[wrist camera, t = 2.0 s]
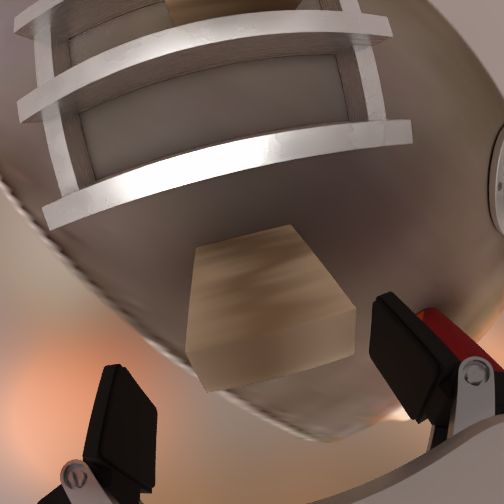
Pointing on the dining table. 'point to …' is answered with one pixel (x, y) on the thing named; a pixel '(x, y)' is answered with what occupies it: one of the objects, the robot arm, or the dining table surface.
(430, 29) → the dining table surface
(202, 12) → the oak board
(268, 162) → the rack
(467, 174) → the dining table surface
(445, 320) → the paper cup
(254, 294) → the beech board
